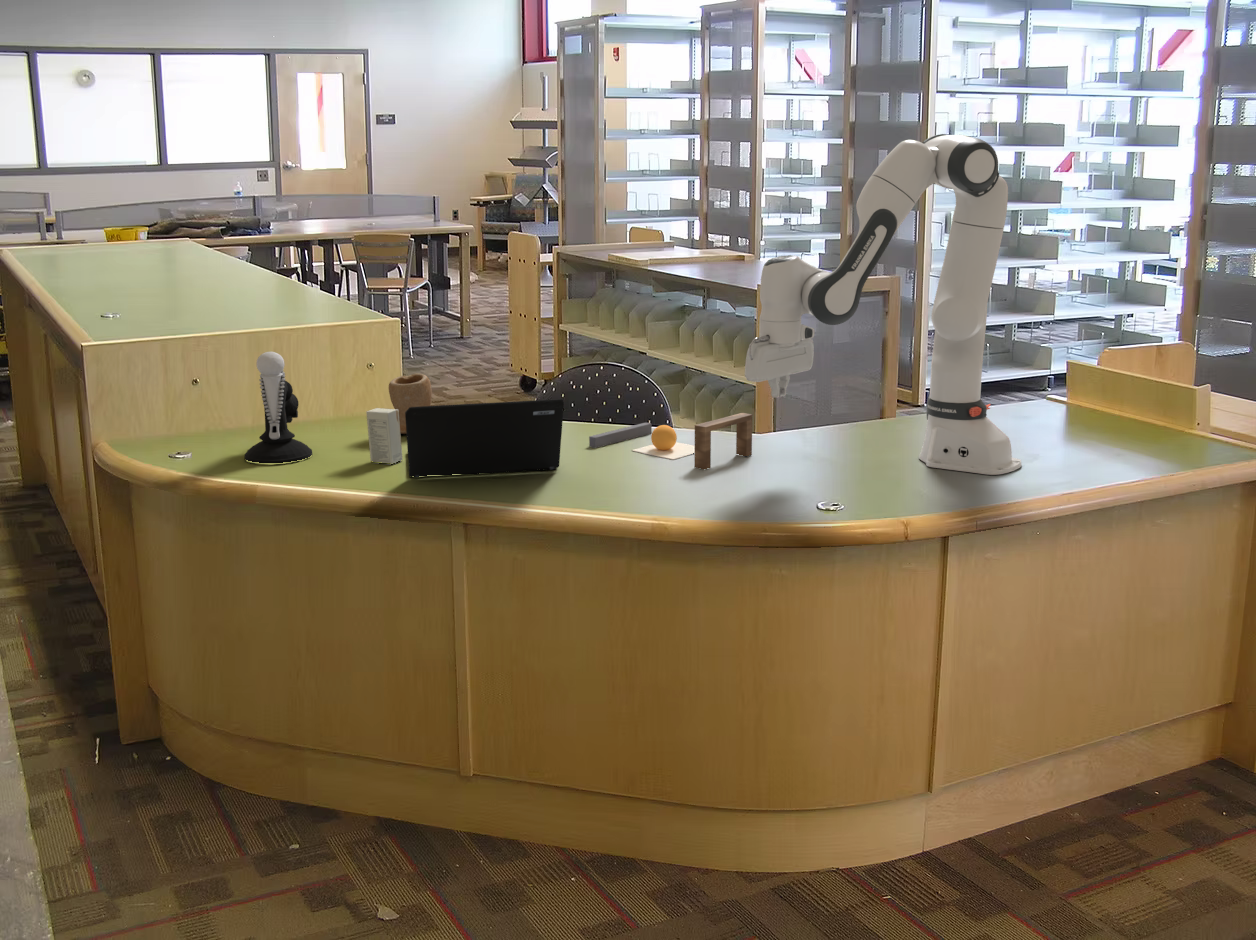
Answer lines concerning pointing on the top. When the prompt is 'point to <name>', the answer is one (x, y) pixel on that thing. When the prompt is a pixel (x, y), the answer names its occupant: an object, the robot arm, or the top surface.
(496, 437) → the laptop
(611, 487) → the top surface
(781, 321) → the robot arm
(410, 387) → the stone cup
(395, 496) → the top surface
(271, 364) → the sculpture
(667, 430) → the ball
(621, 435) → the wall
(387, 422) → the skincare box
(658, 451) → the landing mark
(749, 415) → the bridge
